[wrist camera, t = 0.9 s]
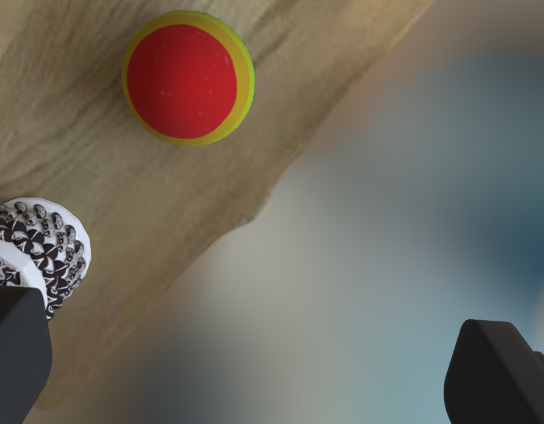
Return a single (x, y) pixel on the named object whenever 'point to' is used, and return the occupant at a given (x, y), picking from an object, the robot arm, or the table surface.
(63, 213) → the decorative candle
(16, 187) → the table surface
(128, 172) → the table surface
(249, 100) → the decorative egg
